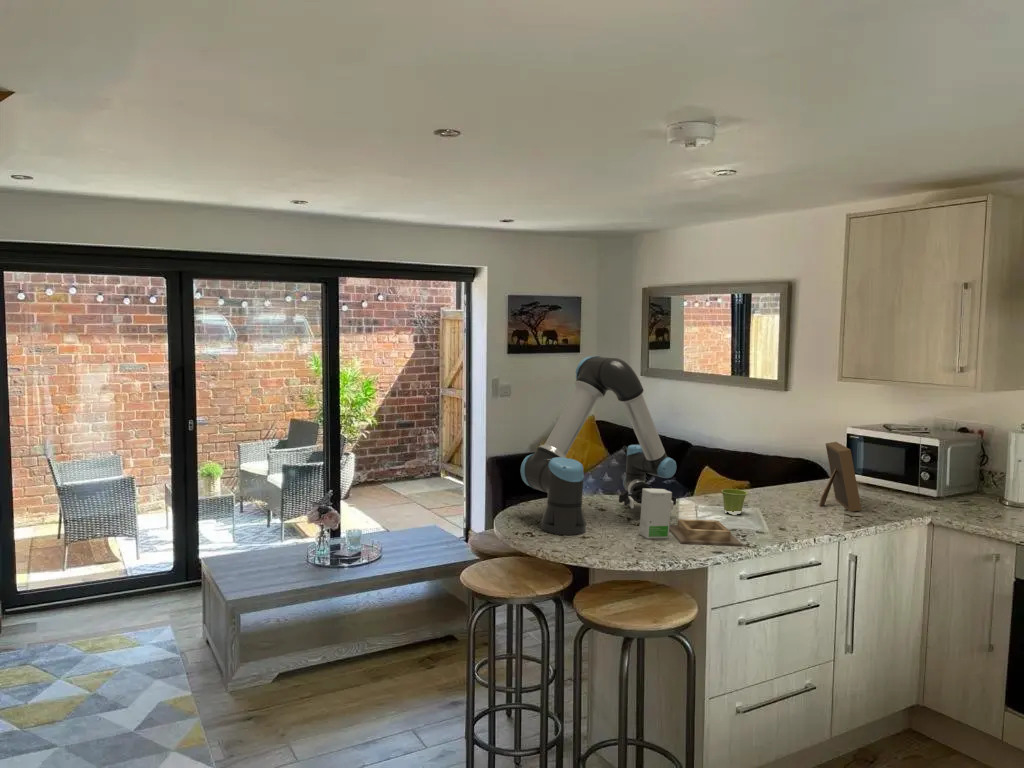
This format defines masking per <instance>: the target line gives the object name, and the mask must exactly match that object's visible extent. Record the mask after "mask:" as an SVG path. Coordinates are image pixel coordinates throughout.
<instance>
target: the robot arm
mask: <svg viewBox="0 0 1024 768" xmlns="http://www.w3.org/2000/svg"><path fill="white" fill-rule="evenodd" d="M575 374H576V375H575V379H576V380H575V382H574V386H575V390H574V392H573V394H572V395H571V397H570V399H569V401H568V402H567V405H565V408H564V409H563V411H562V413H561V414H560V415H559V416H560V417H559V418H558V420H557V422H556V424H555V425H554V426H553V429H552V430H551V432H550V434H549V435H548V437H547V440H546V441H545V442H544V444H542V445H539V446H538V447H537V448H536V449H535V452H534V453H532V454H529V455H526V456H525V458H523V461H522V462H521V465H520V476H521V479H522V481H523V482H524V484H525V485H526V486H529V487H530V488H532V489H533V490H538V491H541V492H543V493H546V494H547V503H546V507H545V509H544V513H543V515H542V518H541V520H540V529H541V530H542V531H544V532H547V533H550V534H554V535H562V536H571V535H572V536H573V535H574V536H575V535H580V534H583V533H585V532H586V529H587V523H586V520H585V516H584V512H583V508H582V505H583V490H584V489H583V488H584V478H585V474H584V473H585V472H584V465H583V464H582V463H581V462H580V461H578V460H577V459H573V458H568V457H567V454H568V452H569V451H570V449H571V448H572V445H573V444H574V443H575V440H576V438H577V436H578V435H579V433H580V431H581V429H582V428H583V426H584V424H585V422H586V420H587V419H588V417H589V415H590V414H591V412H592V410H593V408H594V406H595V404H596V403H597V401H599V400H603V398H604V397H605V395H606V394H607V392H608V391H611V392H612V393H614V395H615V396H616V398H617V400H618V401H619V402H621V403H622V405H623V407H624V410H625V413H626V415H627V417H628V420H629V422H630V423H631V427H632V428H633V432H634V434H635V436H636V438H637V441H638V444H630V445H628V446H627V450H626V463H625V465H626V467H625V477H624V479H623V482H622V485H623V488H624V492H622V493H621V494H619V495H618V503H623V502H624V504H623V505H624V506H629V507H630V508H631V509H634V507H635V502H636V503H637V504H641V503H642V489H643V488H647V489H652V487H651V486H650V485H649V484H647V482H646V476H647V474H649V475H651V476H655V477H659V478H662V479H663V478H664V479H669V478H672V477H673V476H675V474H676V471H677V467H678V466H677V462H676V460H674V459H673V458H671V457H669V456H668V455H667V453H666V451H665V447H664V446H663V443H662V440H661V437H660V435H659V432H658V431H657V428H656V425H655V423H654V420H653V418H652V415H651V413H650V411H649V408H648V405H647V403H646V400H645V398H644V395H643V394H644V388H643V385H642V383H641V381H640V378H639V377H638V375H637V373H636V372H635V371H634V369H633V368H632V366H630V364H629V363H628V362H626V361H625V360H623V359H620V358H617V357H605V356H599V355H593V356H586V357H585V358H583V359H581V360H580V361H579V362H578V365H577V367H576V368H575ZM676 504H677V497H675V496H673V495H672V499H671V511H673V510H674V506H677V505H676Z"/></svg>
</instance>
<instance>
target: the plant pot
mask: <svg viewBox="0 0 1024 768" xmlns="http://www.w3.org/2000/svg"><path fill="white" fill-rule="evenodd" d="M721 494H722V497H723V511H724V510H726V511H732V512H734V511H743V507H744V502H745V499H746V496H747V495H748V492H747V491H745V490H742V489H736V488H735V489H734V488H723V489H721Z"/></svg>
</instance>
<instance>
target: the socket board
mask: <svg viewBox="0 0 1024 768" xmlns="http://www.w3.org/2000/svg"><path fill="white" fill-rule="evenodd" d="M669 533H671V535H673V537H674V538H675V539H676V540H677V541H678V543H679V544H680V545H703V546H704V545H705V546H724V547H726V546H730V547H731V546H732V547H743V543H742V542H741V541H740V540H739V539H738V538H737V537H735V536H734V535H733V534H732V533H731V531H730V530H729V529H728V527H726V526H725V525H724V524H723V523H721V522H720V521H719V520H713V519H712V520H707V519H684V518H682V519H681V518H678V519H677V525H675V524H674V525H673V524H672V525H671V524H670V526H669Z"/></svg>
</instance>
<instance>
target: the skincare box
mask: <svg viewBox="0 0 1024 768" xmlns="http://www.w3.org/2000/svg"><path fill="white" fill-rule="evenodd" d="M672 496H673V492H672V491H669V490H667V489H665V488H651V489H647V488H643V489H642V503H641V507H640V519H639V520H640V521H639V529H638V530H639V535H640V536H642V537H643V538H645V539H648V540H649V539H669V538H670V531H669V526H670V525H671V524H670V523H671V511H672V510H671V499H672Z"/></svg>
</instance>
